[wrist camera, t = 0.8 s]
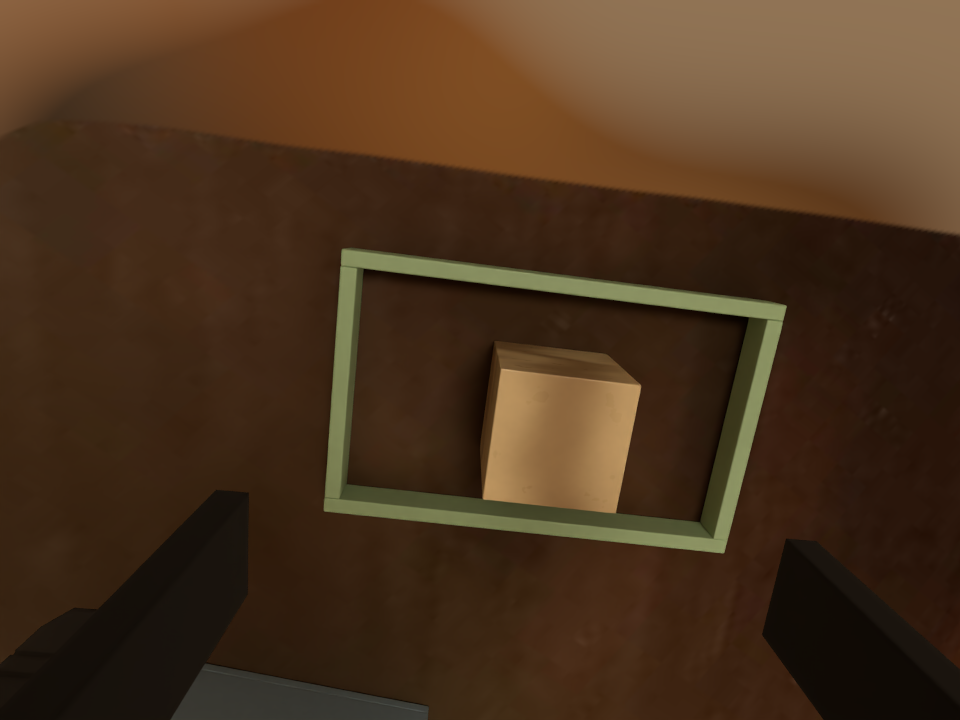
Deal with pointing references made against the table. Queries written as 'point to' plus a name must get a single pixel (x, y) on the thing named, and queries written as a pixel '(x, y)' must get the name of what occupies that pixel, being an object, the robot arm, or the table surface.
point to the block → (556, 427)
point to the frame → (535, 517)
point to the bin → (282, 700)
